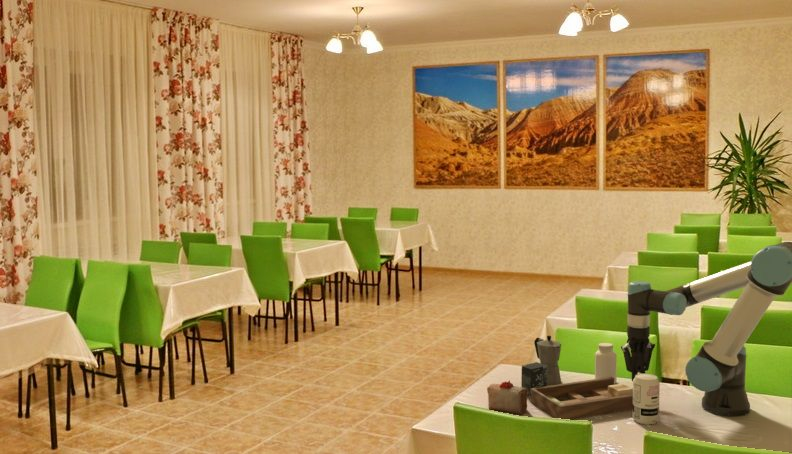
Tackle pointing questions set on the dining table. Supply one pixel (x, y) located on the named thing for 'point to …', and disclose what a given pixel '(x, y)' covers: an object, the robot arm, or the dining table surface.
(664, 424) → the dining table surface
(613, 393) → the block
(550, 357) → the coffeepot
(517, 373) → the dining table surface
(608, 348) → the pill bottle
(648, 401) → the supplement can
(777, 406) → the dining table surface
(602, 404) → the divided wooden tray
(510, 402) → the food item
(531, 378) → the box
